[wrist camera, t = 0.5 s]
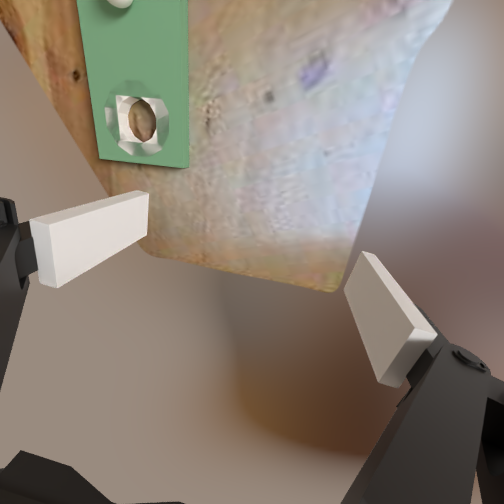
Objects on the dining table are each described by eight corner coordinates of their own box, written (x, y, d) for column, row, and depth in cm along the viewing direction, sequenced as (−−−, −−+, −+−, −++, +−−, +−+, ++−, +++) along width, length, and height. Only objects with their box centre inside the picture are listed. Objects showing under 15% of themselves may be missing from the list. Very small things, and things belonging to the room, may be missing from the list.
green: (82, -59, 31) (65, -76, 29) (187, -57, 30) (178, -75, 27) (110, 158, 41) (99, 158, 39) (189, 167, 40) (182, 168, 37)
